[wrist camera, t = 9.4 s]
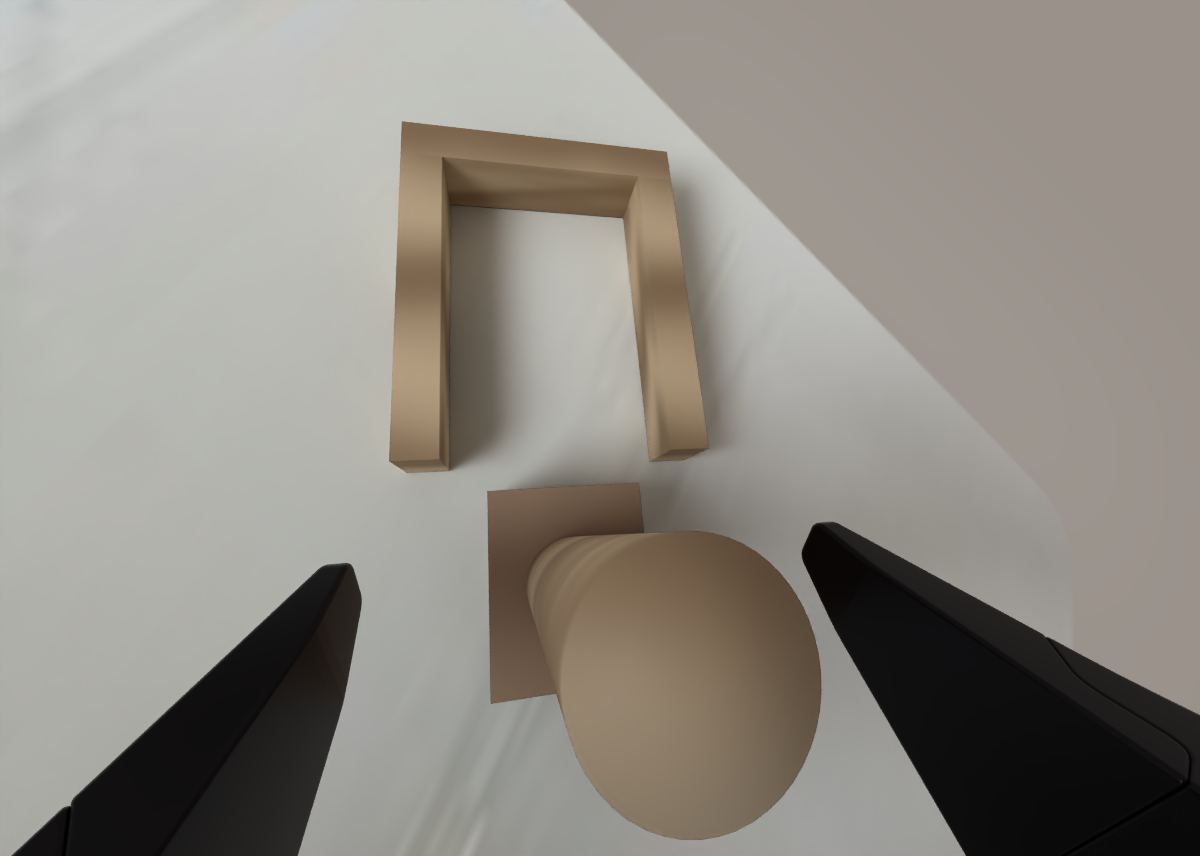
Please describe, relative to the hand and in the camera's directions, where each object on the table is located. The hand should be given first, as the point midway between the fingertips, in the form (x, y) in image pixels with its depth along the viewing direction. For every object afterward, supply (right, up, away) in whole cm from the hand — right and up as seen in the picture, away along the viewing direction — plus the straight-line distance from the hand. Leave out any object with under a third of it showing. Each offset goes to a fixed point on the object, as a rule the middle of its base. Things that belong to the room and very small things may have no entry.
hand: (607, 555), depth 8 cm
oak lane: (-2, +7, +10) cm, 13 cm away
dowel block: (-2, -3, +8) cm, 9 cm away
